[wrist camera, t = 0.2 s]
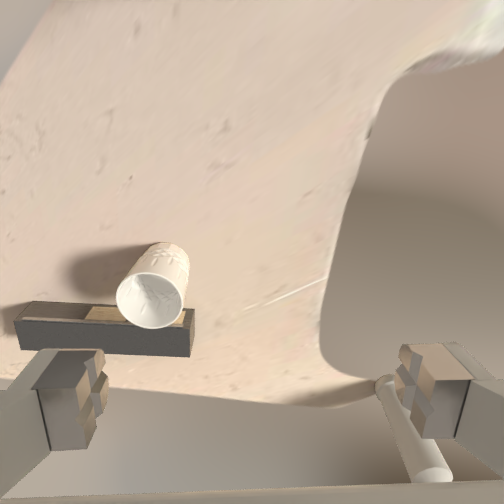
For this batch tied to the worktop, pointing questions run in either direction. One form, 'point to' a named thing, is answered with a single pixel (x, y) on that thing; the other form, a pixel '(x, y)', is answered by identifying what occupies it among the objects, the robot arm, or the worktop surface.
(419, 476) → the bottle
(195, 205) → the worktop surface
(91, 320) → the long dark grey beam
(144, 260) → the white cup
